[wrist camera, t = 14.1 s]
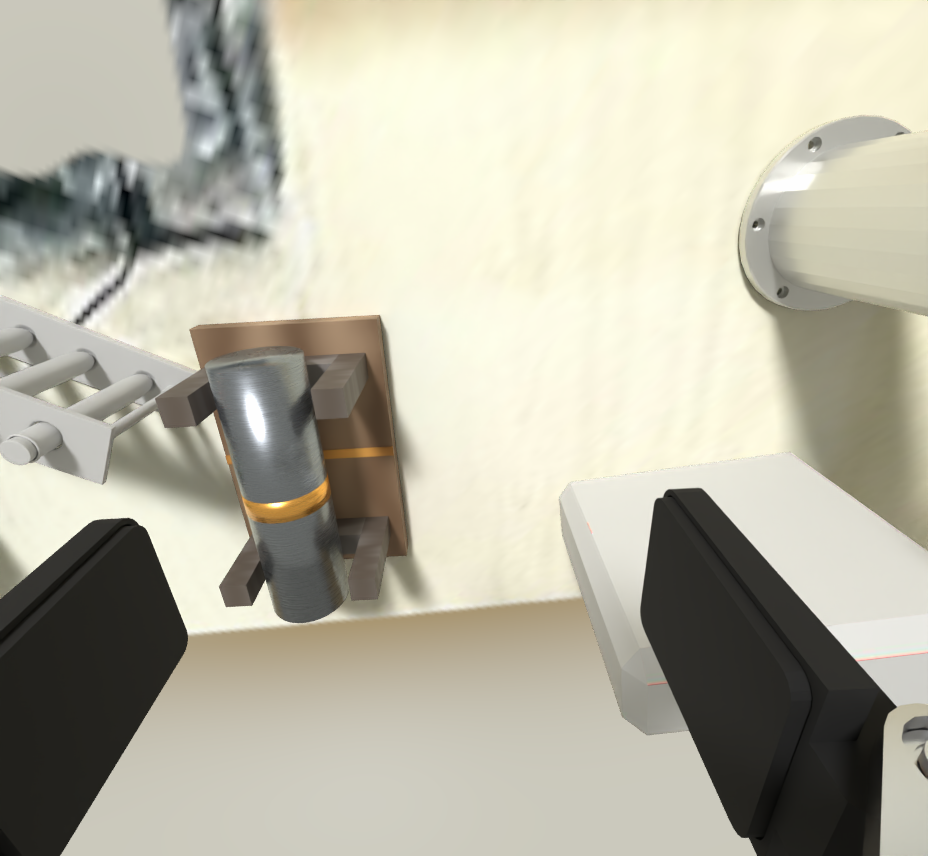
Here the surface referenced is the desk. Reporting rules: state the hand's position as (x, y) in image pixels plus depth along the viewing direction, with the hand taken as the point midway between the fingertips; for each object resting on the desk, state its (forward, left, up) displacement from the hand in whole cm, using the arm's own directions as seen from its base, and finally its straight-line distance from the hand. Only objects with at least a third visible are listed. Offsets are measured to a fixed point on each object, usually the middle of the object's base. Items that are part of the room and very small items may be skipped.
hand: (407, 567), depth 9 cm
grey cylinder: (+12, +12, -23) cm, 29 cm away
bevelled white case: (-20, +19, -31) cm, 41 cm away
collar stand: (+12, +12, -30) cm, 35 cm away
